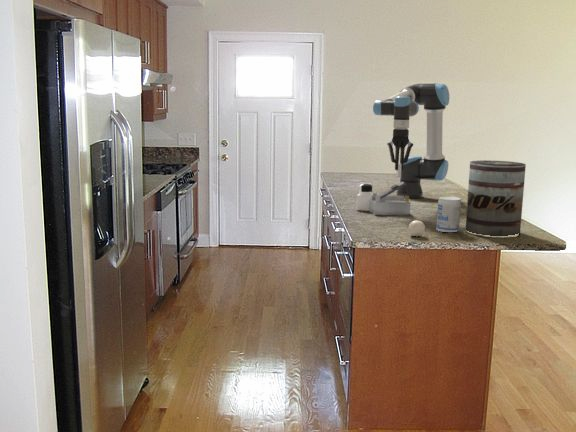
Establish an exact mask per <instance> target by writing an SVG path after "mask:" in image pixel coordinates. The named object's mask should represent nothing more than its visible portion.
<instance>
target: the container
mask: <svg viewBox="0 0 576 432" xmlns="http://www.w3.org/2000/svg"><path fill="white" fill-rule="evenodd" d="M358 192H359V193H358V194H356V200H355V201H356V204H355V207H356V208H355V210H356V211H367V212H369V203H370V200H372V196H373V184H370V183H361V184H359V189H358Z"/></svg>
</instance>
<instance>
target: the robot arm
mask: <svg viewBox="0 0 576 432" xmlns="http://www.w3.org/2000/svg"><path fill="white" fill-rule="evenodd" d="M449 104H450V92H449V88H448V86H447V85H446V84H445V83H435V82H434V83H415V84H412V85H409V86H406V87H404V88H402V89H401V90H399V92H398V93H396V94H394V95H392V96H390V97H388V98H386V99H384V100H382V99H380V100H378V99H377V100H375V101H374V103H373V105H372V113H373V114H374V115H376V116H386V117H387V116H391V117H392V116H393V124H392V125H393V130H392V139H391V141H389V142H387V143H386V145H387V147H388V151H389V156H390V160H391V162H392V163H393V164H394V170H395V171H396V176H395V177H396V178H399V179H400V180H399V183H401V182H404V183H405V184H406V185H405V186H403V187H401V188H400V189H398V190H396V195H395V196H404V199H405V196H409V199H420V198H423V197H424V192H423V188H422V185H421V180H426V181H427V180H428V181H442V182H443V180H445V178H446V176H447V174H448V171H449V161H448V160H446V157H445V155H444V154H443V121H444V118H443V115H444V114H443V113H444V111H445V110H446V109H447V108H446V106H448V105H449ZM419 106H423V110H424V111H425V112H426V153H425V155H423V157H422V155H421V156H420V155H419V156H418V155H416V156H410V155H411V150H412V148H413V146H414V143H413V142H411V141H410V139H409V133H410V131H409V128H410V118H411V117H414V116H416V115H417V114H418V113H419V111H420V110H419V109H420V107H419ZM393 145H394V147H395V149H394V148H393ZM406 147H407V148H406ZM405 149H406V152H405ZM394 150H395V151H394ZM394 152H395V153H394Z"/></svg>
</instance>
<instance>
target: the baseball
mask: <svg viewBox="0 0 576 432" xmlns="http://www.w3.org/2000/svg"><path fill="white" fill-rule="evenodd" d="M425 232H426V226H425V224H424V222H423V221H421V220H417V219H415V220H412V221H411V222H410V223H409V225H408V233H409V234H410V235H411V236H413V237H415V236H416V237H418V236H419V237H421V236H423V235H424V233H425Z"/></svg>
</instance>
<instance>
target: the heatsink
mask: <svg viewBox="0 0 576 432" xmlns="http://www.w3.org/2000/svg"><path fill="white" fill-rule="evenodd" d="M372 194H373V196H372V200H370V203H369V211H368V212H369V213H371V214H372V215H374V216H384V215H385V216H391V215H392V216H393V215H394V216H397V215H399V216H405V215H407V216H408V215H409V214H410V215H411V202H410V198H409V196H405V198H404V196H396V195H387V196H386V197H384V198H382V199H380V194H378V193H377V192H372ZM375 197H376V198H375ZM410 215H409V216H410Z"/></svg>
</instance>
